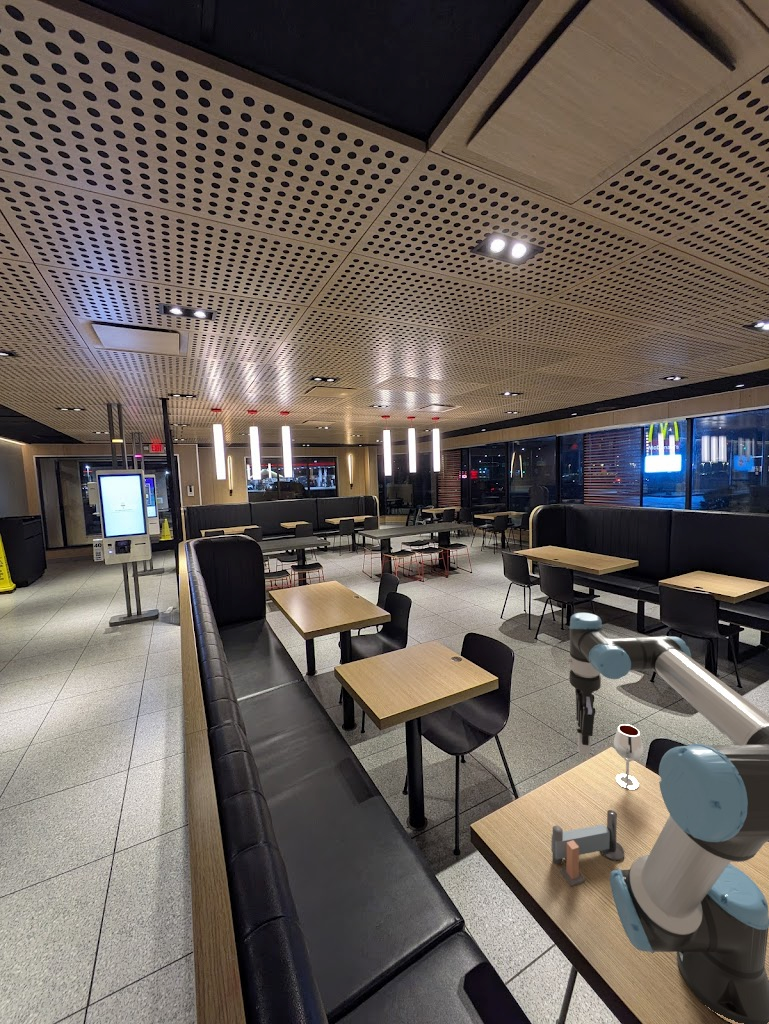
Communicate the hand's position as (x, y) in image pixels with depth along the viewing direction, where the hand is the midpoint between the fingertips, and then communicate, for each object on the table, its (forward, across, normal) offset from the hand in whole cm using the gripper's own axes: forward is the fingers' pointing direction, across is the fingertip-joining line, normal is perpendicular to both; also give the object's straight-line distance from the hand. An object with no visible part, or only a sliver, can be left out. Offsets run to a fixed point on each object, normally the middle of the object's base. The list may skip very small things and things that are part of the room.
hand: (583, 752), depth 114 cm
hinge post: (+24, +5, +6) cm, 26 cm away
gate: (+24, +8, -2) cm, 26 cm away
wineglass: (+25, -22, +18) cm, 37 cm away
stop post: (+24, +14, -5) cm, 29 cm away
